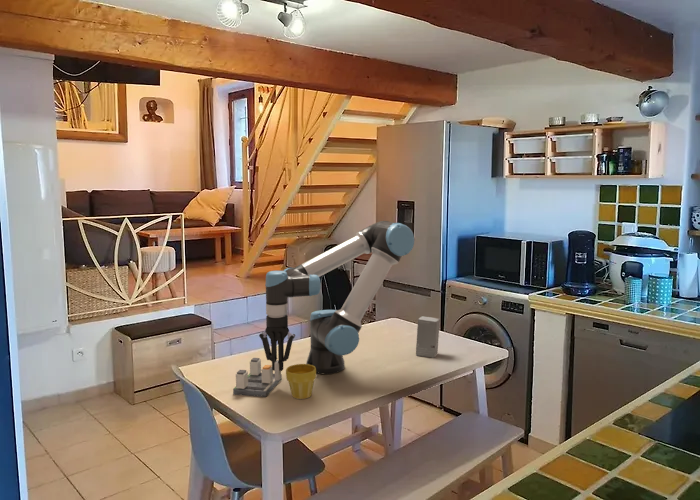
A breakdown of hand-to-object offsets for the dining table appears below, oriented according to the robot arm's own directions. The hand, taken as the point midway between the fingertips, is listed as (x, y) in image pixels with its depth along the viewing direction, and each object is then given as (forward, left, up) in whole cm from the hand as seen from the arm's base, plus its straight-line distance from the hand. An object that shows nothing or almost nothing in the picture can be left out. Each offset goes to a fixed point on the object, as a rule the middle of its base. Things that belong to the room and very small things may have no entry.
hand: (277, 379), depth 200 cm
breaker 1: (+11, +6, -1) cm, 13 cm away
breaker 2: (+11, -7, -1) cm, 13 cm away
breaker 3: (+4, 0, -1) cm, 4 cm away
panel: (+8, 0, -4) cm, 8 cm away
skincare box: (-50, -48, -4) cm, 70 cm away
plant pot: (-10, +4, -4) cm, 12 cm away
